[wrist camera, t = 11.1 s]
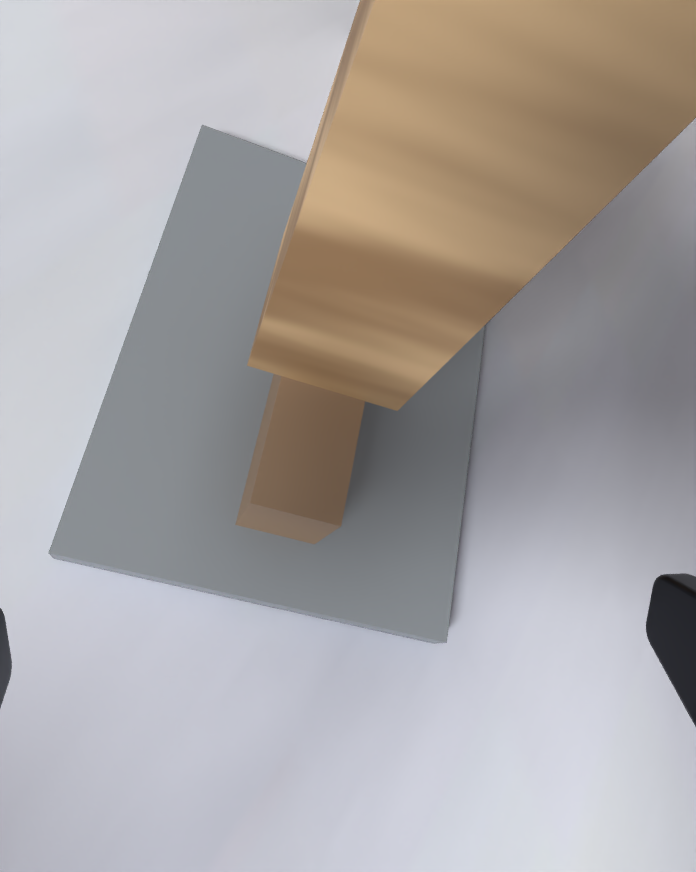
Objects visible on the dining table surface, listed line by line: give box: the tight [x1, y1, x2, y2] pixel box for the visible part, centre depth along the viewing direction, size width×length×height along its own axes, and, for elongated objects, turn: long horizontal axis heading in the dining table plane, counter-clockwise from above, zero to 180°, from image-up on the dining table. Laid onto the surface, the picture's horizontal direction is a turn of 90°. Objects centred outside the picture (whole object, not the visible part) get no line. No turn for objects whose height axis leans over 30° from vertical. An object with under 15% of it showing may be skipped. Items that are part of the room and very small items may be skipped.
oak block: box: [247, 0, 696, 411], centre depth 13 cm, size 4×4×14 cm
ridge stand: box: [49, 125, 485, 643], centre depth 21 cm, size 16×12×4 cm
